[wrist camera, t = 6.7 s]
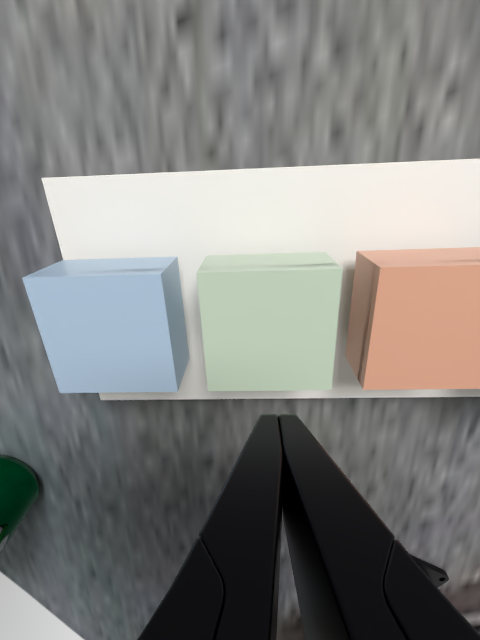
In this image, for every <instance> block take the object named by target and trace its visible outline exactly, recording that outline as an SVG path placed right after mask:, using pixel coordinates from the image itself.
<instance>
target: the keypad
mask: <svg viewBox="0 0 480 640" xmlns="http://www.w3.org/2000/svg"><path fill="white" fill-rule="evenodd" d="M42 182H43V185H44V189H45V193H46V197H47V200H48V204H49V208H50V212H51V215H52V219H53V223H54V227H55V230H56V234H57V238H58V242H59V245H60V249H61V253H62V257H63V260H81V259H113V258H145V257H178V266H179V274H180V282H181V291H182V299H183V308H184V316H185V324H186V333H187V341H188V349H189V361H188V364H187V367H186V370H185V373H184V375H183V378H182V381H181V384H180V387H179V390H178V392H116V393H99V396H100V399H101V400H171V399H282V398H392V397H480V389H403V390H363V389H362V387H361V385H360V383H359V381H358V379H357V377H356V375H355V373H354V372H353V370H352V368H351V366H350V364H349V362H348V360H347V358H346V356H345V354H346V344H347V335H348V326H349V317H350V308H351V299H352V289H353V280H354V271H355V262H356V253H357V251H370V250H402V249H434V248H467V247H480V159H462V160H439V161H417V162H394V163H371V164H349V165H326V166H304V167H281V168H259V169H236V170H214V171H191V172H168V173H146V174H123V175H101V176H78V177H56V178H42ZM303 252H327V253H328V254H329V255H330V256H331V257H332V258H333V259H334V260H335V261H336V262H337V263H338V264H339V265H340V266H341V267H342V268H343V271H342V282H341V292H340V303H339V314H338V324H337V335H336V346H335V357H334V367H333V378H332V389H331V390H301V391H208V387H207V377H206V367H205V357H204V346H203V336H202V326H201V315H200V305H199V295H198V285H197V274H196V273H197V271H198V269H199V267H200V266H201V264H202V262H203V261H204V259H205V257H206V256H207V255H239V254H271V253H303Z"/></svg>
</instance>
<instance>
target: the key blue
mask: <svg viewBox="0 0 480 640" xmlns="http://www.w3.org/2000/svg"><path fill="white" fill-rule="evenodd" d="M22 279H23V282H24V285H25V288H26V291H27V294H28V297H29V300H30V303H31V306H32V309H33V312H34V316H35V319H36V322H37V325H38V328H39V331H40V334H41V337H42V340H43V343H44V346H45V349H46V352H47V355H48V358H49V361H50V364H51V367H52V371H53V374H54V377H55V380H56V383H57V386H58V389H59V392H60V393H116V392H178V390H179V387H180V384H181V381H182V378H183V375H184V373H185V370H186V367H187V364H188V361H189V349H188V341H187V333H186V324H185V316H184V308H183V299H182V291H181V282H180V274H179V266H178V257H145V258H113V259H81V260H62V261H60V262H58V263H55V264H53V265H51V266H48V267H46V268H44V269H41V270H39V271H37V272H34V273H32V274H30V275H28V276H25V277H23V278H22Z"/></svg>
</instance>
